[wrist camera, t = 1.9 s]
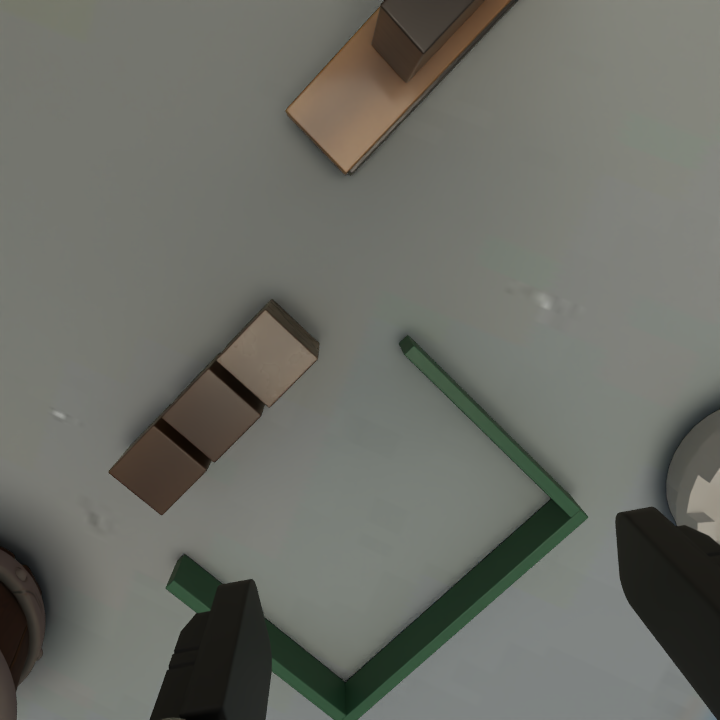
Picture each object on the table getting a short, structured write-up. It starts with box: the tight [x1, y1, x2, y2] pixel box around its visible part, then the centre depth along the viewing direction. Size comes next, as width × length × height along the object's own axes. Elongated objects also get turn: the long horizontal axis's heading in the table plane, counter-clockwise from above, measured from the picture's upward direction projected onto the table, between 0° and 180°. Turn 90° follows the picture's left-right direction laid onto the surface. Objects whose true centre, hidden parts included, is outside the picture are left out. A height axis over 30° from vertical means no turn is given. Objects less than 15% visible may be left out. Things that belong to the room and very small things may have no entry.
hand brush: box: [286, 0, 518, 176], centre depth 29 cm, size 5×17×10 cm, turn 135°
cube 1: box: [109, 404, 212, 515], centre depth 37 cm, size 4×4×4 cm
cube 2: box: [162, 353, 265, 462], centre depth 36 cm, size 4×4×4 cm
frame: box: [166, 335, 588, 720], centre depth 39 cm, size 16×22×3 cm
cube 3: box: [216, 299, 319, 407], centre depth 35 cm, size 4×4×4 cm
